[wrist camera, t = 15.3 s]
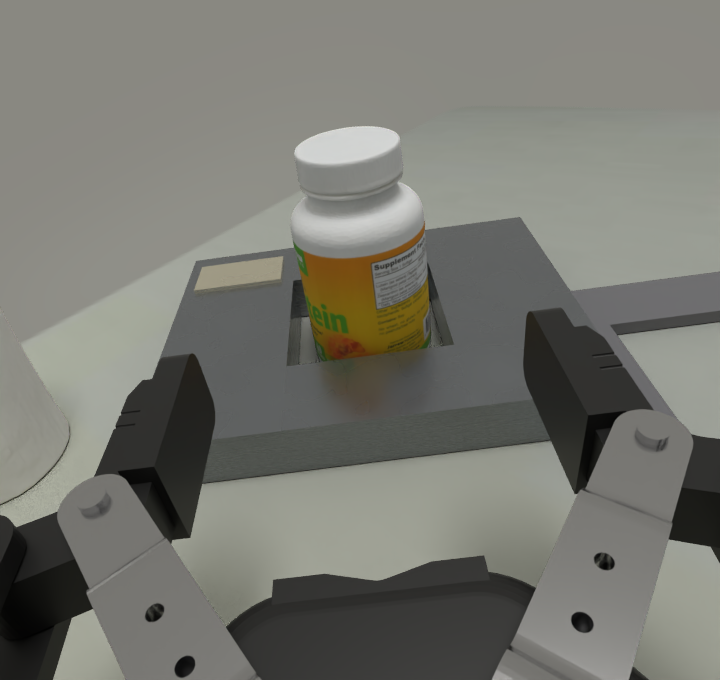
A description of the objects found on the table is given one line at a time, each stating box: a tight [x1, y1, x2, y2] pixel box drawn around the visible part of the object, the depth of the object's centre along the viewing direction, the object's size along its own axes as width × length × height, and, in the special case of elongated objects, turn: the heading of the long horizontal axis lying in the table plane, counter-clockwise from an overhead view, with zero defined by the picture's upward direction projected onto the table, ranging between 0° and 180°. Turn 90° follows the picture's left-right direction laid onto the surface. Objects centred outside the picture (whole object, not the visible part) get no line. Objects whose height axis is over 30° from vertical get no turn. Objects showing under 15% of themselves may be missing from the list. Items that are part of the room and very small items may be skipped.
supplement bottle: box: [291, 126, 431, 362], centre depth 24 cm, size 5×5×10 cm
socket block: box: [152, 217, 598, 483], centre depth 26 cm, size 18×14×2 cm
